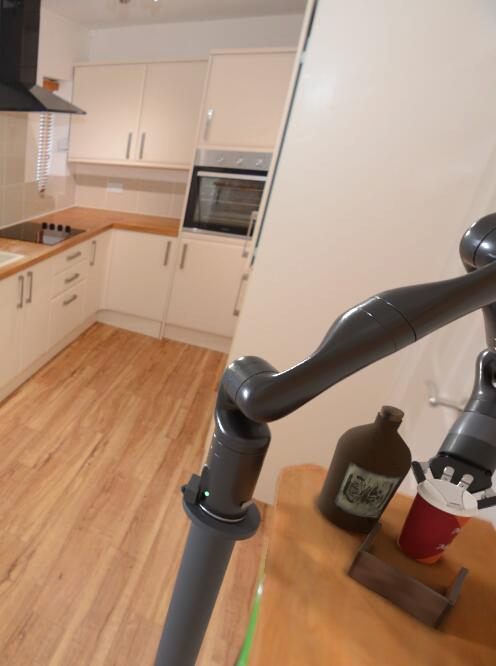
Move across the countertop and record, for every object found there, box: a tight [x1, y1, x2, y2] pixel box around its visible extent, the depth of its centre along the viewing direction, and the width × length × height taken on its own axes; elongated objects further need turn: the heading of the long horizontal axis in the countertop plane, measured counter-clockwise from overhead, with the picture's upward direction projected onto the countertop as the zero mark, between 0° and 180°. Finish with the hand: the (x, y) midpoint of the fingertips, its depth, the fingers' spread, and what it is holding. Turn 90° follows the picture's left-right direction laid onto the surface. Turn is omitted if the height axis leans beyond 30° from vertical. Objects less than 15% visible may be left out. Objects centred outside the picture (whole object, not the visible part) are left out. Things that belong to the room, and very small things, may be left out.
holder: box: [346, 521, 469, 631], centre depth 76 cm, size 12×10×6 cm
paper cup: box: [396, 478, 479, 565], centre depth 80 cm, size 8×8×14 cm
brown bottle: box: [316, 405, 413, 533], centre depth 85 cm, size 11×11×25 cm
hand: (431, 523), depth 83 cm, fingers closed
